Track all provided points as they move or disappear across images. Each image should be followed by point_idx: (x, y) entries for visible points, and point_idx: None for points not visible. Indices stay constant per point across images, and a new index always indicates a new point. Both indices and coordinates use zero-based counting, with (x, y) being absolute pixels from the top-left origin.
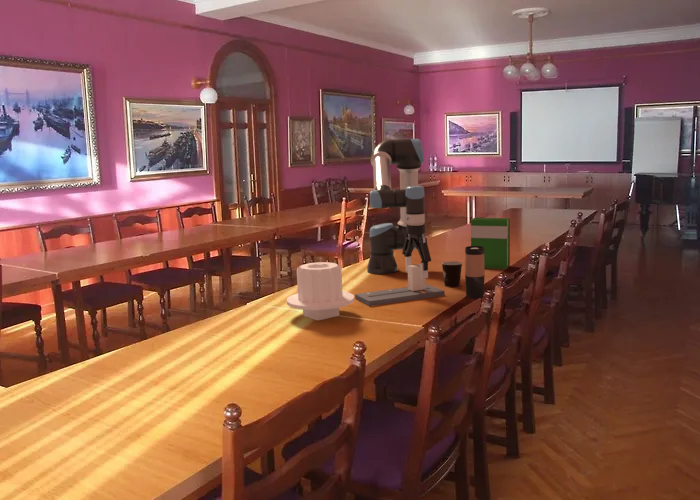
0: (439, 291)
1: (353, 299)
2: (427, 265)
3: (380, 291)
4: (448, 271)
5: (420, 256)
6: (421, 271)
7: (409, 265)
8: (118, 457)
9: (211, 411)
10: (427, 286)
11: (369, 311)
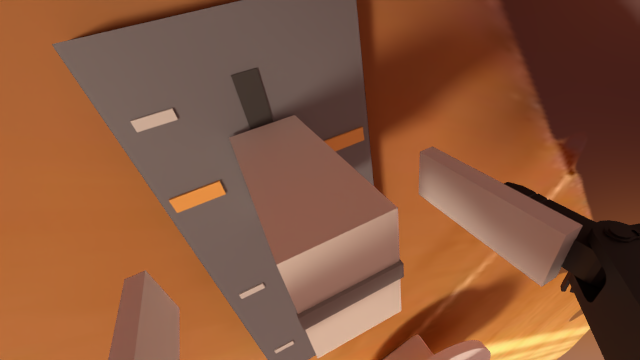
0: (358, 25)
1: (467, 346)
2: (561, 210)
3: (262, 318)
4: None
5: (611, 356)
6: (464, 223)
7: (318, 347)
8: (577, 333)
9: (570, 323)
10: (172, 72)
11: (420, 290)
